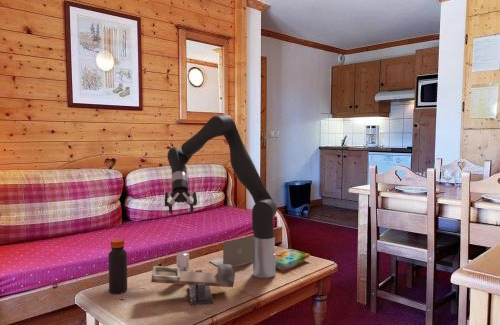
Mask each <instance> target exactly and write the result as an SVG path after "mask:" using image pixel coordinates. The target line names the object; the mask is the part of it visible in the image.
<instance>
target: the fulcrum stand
mask: <svg viewBox="0 0 500 325" xmlns="http://www.w3.org/2000/svg"><path fill="white" fill-rule="evenodd" d="M195 272H203V270H202V269H196V270H195ZM210 287H211V286H205V283H198V285H188V296H189V301H190V302H189V304H190V306H191V307H192V306H203V305H213V304H214V299H213V295H212V292H211V288H210Z"/></svg>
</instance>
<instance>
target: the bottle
mask: <svg viewBox="0 0 500 325" xmlns="http://www.w3.org/2000/svg"><path fill="white" fill-rule="evenodd" d="M124 248H125V239H123V238H115V239H112V240H111V241H110V249H111V250H110V251H109V252H108V255H107V256H108V292H109V294H112V295H121V294H123V293H124V294H125V293H126V292H127V291H128V252H127V251H126V250H125V249H124Z"/></svg>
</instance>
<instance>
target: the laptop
mask: <svg viewBox="0 0 500 325" xmlns="http://www.w3.org/2000/svg"><path fill="white" fill-rule="evenodd" d="M222 243H223V245H222V248H223V249H222V257H221V258H216V259H211V260H209V262H210V263H212V264H213V265H215V266H216V267H218V264H229V265H231V266H232V268H235V267H239V266H242V265H246V264H249V263H253V244H254V235H251V236H246V237H240V238H237V239H231V240H226V241H223V242H222Z"/></svg>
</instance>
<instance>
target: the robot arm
mask: <svg viewBox="0 0 500 325" xmlns="http://www.w3.org/2000/svg"><path fill="white" fill-rule="evenodd" d="M217 137H224V139H225V141H226V142H227V145H228V148H229V158H230V159H229V160H230V165H231V168H232V170H233V172H234V174H235V176H236V178H237V180H238V181H239V182H240V183H241V184H242V185H243V187H245V189H246V190H247V191H248V193H250V195H251V198H252V199H253V201H254V205H253V207H252V211H251V222H252V223H251V227H252V232H253V236H254V244H253V262H252V275H253V277H255V278H259V279H270V278H273V277H276V269H277V268H276V255H275V254H276V253H275V243H276V242H275V241H276V240H275V239H276V238H275V237H276V235H275V234H276V233H275V232H276V231H275V229H274V217H275V216H276V214H277V211H278V210H277V209H278V208H277V204H276V203H275V201H274V200H273V198H272V196H271V194H270V193H269V192H268V190H267V189H266V187H265V185H264V183H263V180H262V178H261V176H260V174H259V172H258V170H257V168H256V165H255V164H254V161H253V160H252V158H251V156H250V154H249V153H248V151H247V149H246V146H245V144H244V142H243V140H242V137H241V135H240V133H239V130H238V128H237V124H236V123H235V121H234V119H233V117H232V116H231V115H229V114H227V113H224V114H217V115H213V116H212V117H211V118H210V119H209V120H208V121H207V122H206V123H205V124H204V125H203V126H202V127H201V129H200V130H199V131H197V132H196V133H195V134H194V135H193V136H191V137H190V138H188V140H186V141H185V142H184V143H182V144H181V146H180V148H178V147H176V146H173V147H171V148H169V150H168V152H167V160H168V163H169V166H170V169H171V182H170V183H171V193H168V192H167V191H166V192H165V193H164V207H168V213H169V214H170V215H173V206H174V204H176V203H178V204H179V203H186V204H187V205H188V206H189V214H193V213H194V206H197V205H198V199H197V198H198V197H197V192H196V191H193V192H190V191H189V190H190V189H189V178H188V170H187V169H188V168H187V166H186V164H188V163H189V161H190V159H191V158H192V157H193V155H195V154H196V153H198V152H199V151H200V150H202V149H203V148H204V146H205V145H206V143H207V142H209V141H210V140H212V139H215V138H217ZM190 197H191V198H192V199H191V198H190ZM170 198H171V200H170V201H169V199H170ZM192 200H193V201H192Z"/></svg>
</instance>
